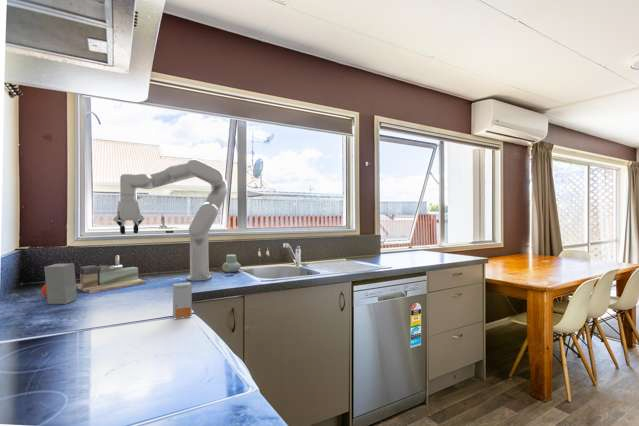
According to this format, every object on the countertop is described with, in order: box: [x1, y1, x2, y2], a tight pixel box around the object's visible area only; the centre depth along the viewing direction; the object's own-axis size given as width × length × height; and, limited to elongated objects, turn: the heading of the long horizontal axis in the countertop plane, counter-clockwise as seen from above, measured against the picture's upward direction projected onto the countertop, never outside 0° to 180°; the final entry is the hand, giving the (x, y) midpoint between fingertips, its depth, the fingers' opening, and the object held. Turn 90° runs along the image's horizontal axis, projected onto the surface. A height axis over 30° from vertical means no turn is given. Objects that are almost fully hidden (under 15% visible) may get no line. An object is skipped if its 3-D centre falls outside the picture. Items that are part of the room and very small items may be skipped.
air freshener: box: [221, 254, 242, 274], centre depth 212 cm, size 11×8×10 cm
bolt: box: [99, 254, 124, 271], centre depth 175 cm, size 2×10×7 cm, turn 142°
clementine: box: [41, 283, 47, 298], centre depth 152 cm, size 8×7×7 cm
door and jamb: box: [76, 264, 146, 294], centre depth 175 cm, size 18×25×11 cm
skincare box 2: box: [172, 281, 193, 319], centre depth 126 cm, size 6×4×12 cm
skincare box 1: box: [43, 262, 78, 305], centre depth 145 cm, size 8×7×16 cm
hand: (129, 233), depth 182 cm, fingers open, 5 cm apart
